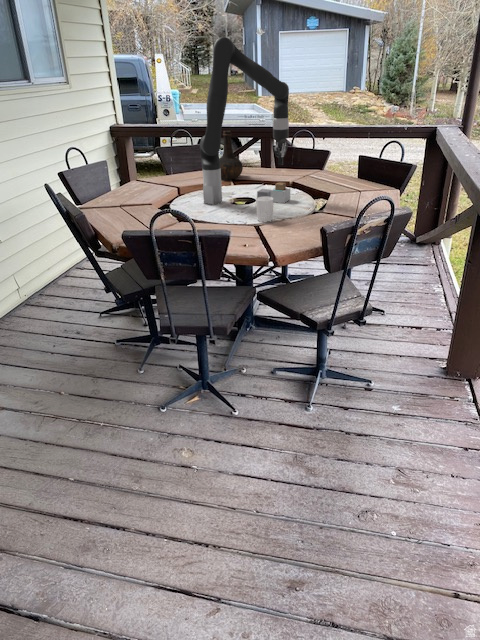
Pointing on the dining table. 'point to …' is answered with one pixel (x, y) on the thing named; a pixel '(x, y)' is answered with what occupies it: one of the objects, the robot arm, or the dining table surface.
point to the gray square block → (264, 193)
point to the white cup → (264, 208)
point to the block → (280, 186)
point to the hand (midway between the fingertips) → (280, 164)
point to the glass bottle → (229, 160)
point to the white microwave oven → (280, 195)
